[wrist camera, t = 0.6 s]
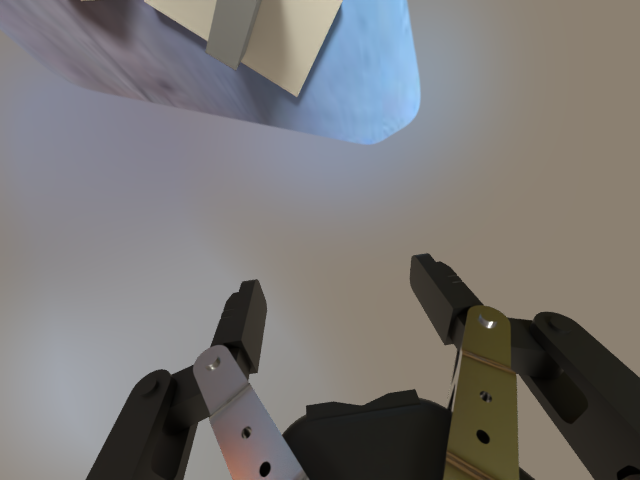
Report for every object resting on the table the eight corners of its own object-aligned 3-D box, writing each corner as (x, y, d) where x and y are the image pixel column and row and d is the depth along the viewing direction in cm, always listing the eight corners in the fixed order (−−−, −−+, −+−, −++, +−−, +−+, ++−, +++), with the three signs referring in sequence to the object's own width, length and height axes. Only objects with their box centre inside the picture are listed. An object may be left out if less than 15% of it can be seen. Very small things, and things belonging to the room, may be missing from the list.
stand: (150, 1, 23) (95, 4, 16) (164, -165, 17) (90, -269, 10) (296, 93, 30) (302, 123, 23) (340, -2, 24) (365, -1, 18)
